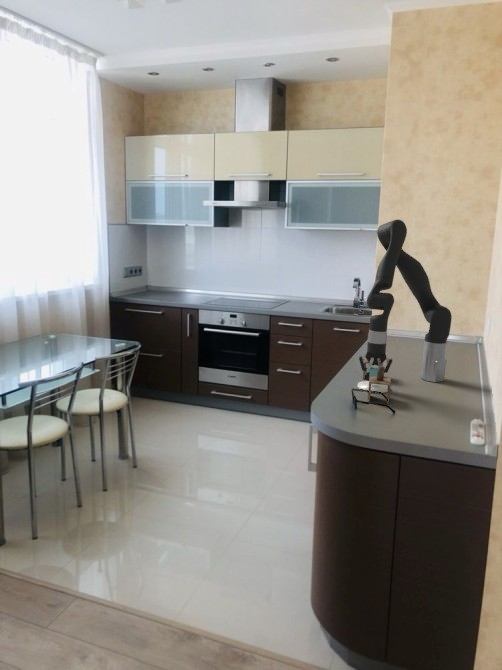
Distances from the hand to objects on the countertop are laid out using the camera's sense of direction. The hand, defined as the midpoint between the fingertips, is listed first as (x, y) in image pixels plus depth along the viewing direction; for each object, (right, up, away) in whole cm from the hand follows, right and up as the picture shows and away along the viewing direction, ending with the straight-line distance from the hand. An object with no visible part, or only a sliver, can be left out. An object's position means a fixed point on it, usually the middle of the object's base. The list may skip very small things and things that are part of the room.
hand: (373, 381), depth 230 cm
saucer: (0, -3, +1) cm, 3 cm away
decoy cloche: (-1, -6, -13) cm, 15 cm away
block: (0, -1, 0) cm, 1 cm away
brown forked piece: (+3, 0, +16) cm, 16 cm away
